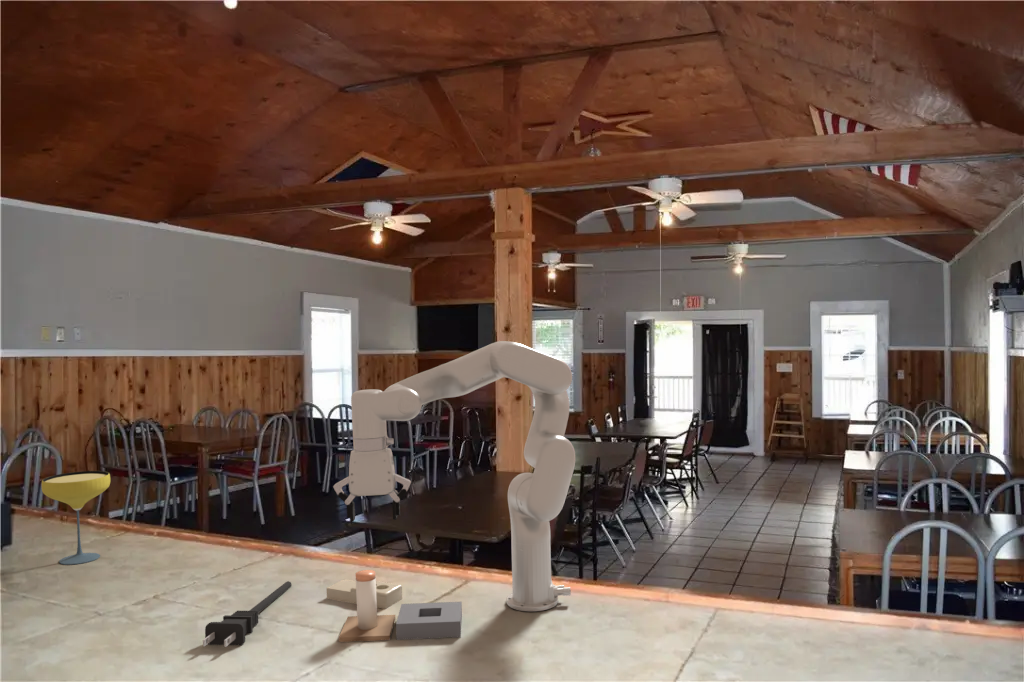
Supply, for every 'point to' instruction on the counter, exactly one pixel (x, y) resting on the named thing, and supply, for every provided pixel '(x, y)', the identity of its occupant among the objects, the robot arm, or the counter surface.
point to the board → (367, 630)
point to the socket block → (429, 620)
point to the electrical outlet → (347, 592)
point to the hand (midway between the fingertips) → (374, 519)
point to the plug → (366, 599)
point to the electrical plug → (238, 622)
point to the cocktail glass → (76, 500)
